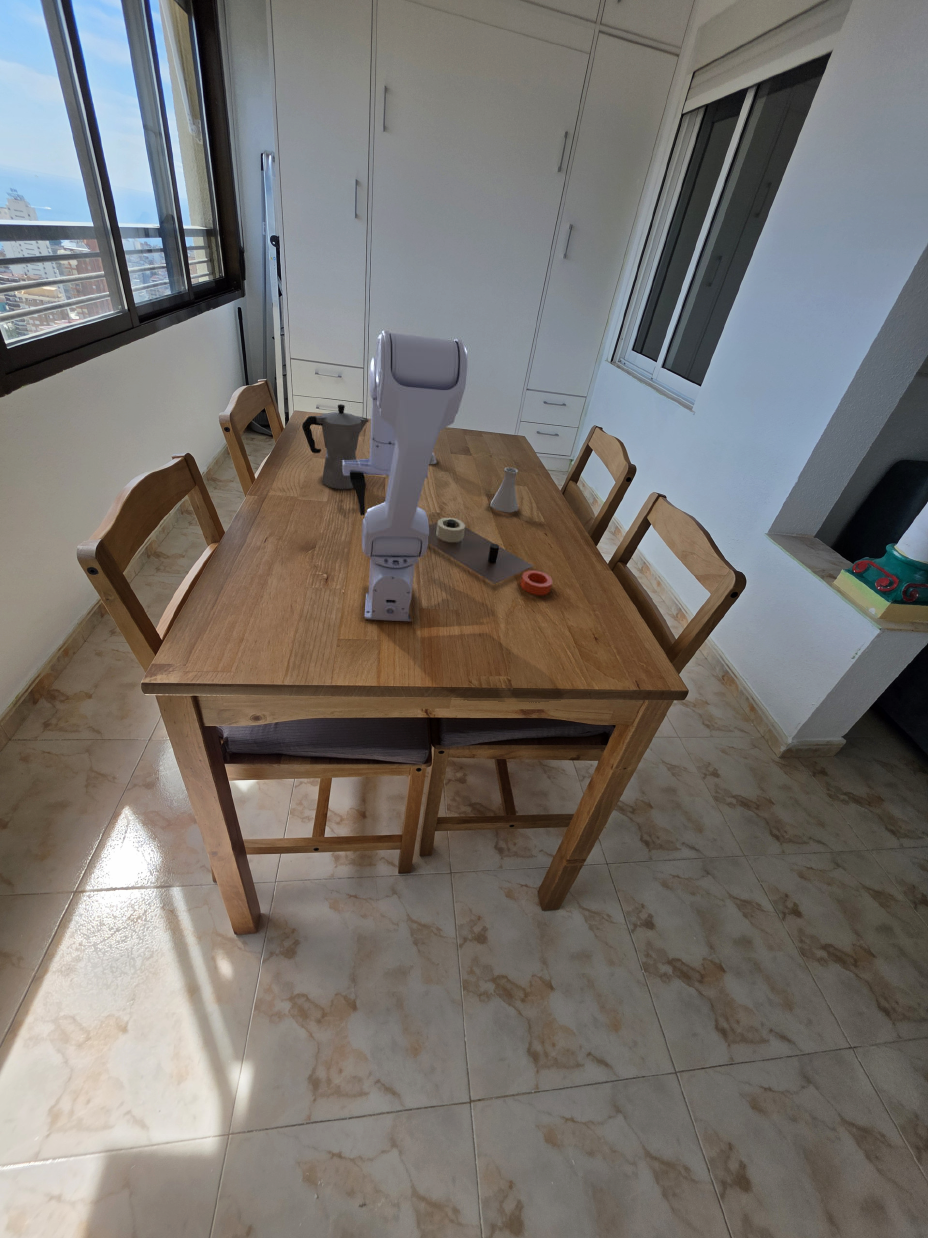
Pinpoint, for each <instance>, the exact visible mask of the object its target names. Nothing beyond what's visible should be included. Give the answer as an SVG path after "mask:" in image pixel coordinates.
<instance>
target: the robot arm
mask: <svg viewBox="0 0 928 1238" xmlns="http://www.w3.org/2000/svg"><path fill="white" fill-rule="evenodd" d="M375 349H376V350H375V357H374V356H373V357H372V358H371V361H370V364H369V372H368V389H369V394H370V395H369V396H370V399H371V411H370V413H371V414H370V435H369V436H370V437H369V438H370V439H369V458H362V459H361V458H360V459H356V460H343V466H342V471H343V475H344V476H349V477H350V480H351V483H352V485H353V488H352V489H353V490H354V492H355V495H356V497H357V502H358V511H359V515H360V516H364V518H363V519H362V523H361V544H362V546H361V547H362V553H363V554H364V555H365V557H368V558H370V559H369V575H368V576H369V579H368V592H366V593H365V603H364V604H365V607H364V619H366V620H374V621H392V622H393V621H394V622H412V619H411V617H410V604H411V602H412V597H413V595H412V594H413V586H414V584H413V583H414V575H415V565H417V564H418V563H419V558H423V557H424V556H425V555H426V554H427V551H428V547H429V543H428V536H429V525H430V524H429V518H428V515H427V512H426V511H425V510H424V509H423V508H421V507H419V504H420V503H419V502H420V499H421V496H422V492H423V488H424V484H425V480H426V479H428V473H429V465H430V464H429V462H430V459H431V455H432V452H433V453H434V449H435V446H436V443H437V440H438V438H439V435H440V432H441V431H442V430H444V429H445V428H447V427H449V426H451V425H453V424H454V423H455V419H456V416H457V414H458V412H459V410H460V407H461V404H462V400H463V397H464V393H465V390H466V385H467V376H468V351H467V348H466V346H465V344H464V342H463V341H462V340H461V339H457V338H456V339H455V338H454V340H453V339H445V338H437V337H429V336H422V335H421V336H420V335H413V334H404V333H396V332H390V331H389V330H384V329H383V330H382V331H381V333H379V334H378V336H377V339H376V348H375ZM369 475H370V476H388V481H387V483H388V484H387V488H386V493H385V499H384V501H383V502H382V503H379V504H376V505H374V506H372V507H369V508H368V509H367V510H366V505H365V504H366V503H365V499H366V487H367V483H366V477H365V476H369Z"/></svg>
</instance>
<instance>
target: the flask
mask: <svg viewBox="0 0 928 1238" xmlns="http://www.w3.org/2000/svg"><path fill="white" fill-rule="evenodd" d="M503 472H504V476H503V478H502V479H503V480H502V481H501V484H500V486H499V488H498V490H497V492H496V493H495V495H494V496H493V498H492V500H491V502H490V505H489V506H490V507H491V508H492V509H494V510H496V511H499V512H504V513H513V512H518V511H519V505H518V501H517V493H516V476H517V474H518V472H519V470H518V469H516V468H514V467H509V466H508V467H504V469H503Z"/></svg>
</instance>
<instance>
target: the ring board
mask: <svg viewBox="0 0 928 1238" xmlns="http://www.w3.org/2000/svg"><path fill="white" fill-rule="evenodd" d="M437 523H438V521H436V522H434V523H431V524H429V536H428V545H431V546H432V547H435V548H436V549H437V550H439V551H441V552H442V553H443V554H445V555H447V556H448V557H450V558H452V559H454V560H455V561H457V562H458V563H460V564H462V565H463V566H465V567H467V568H468V569H469V570H471V571H473V572H475V573H476V574H478V575H479V576H481V577H483V578H484V579H486V580H487V581H489V582H491V583H492V584H494V585H495V584H498V583H500V582H502V581H504V580H506V579H508V578H511V577H513V576H515V575H517V574H519V573H522V572H525V571H527V570H528V569H530V568H532V567H534V565H533V564H531V563H530V562H528V561H526V560H524V559H523V558H520V557H519V556H517V555H515V554H513V553H512V552H510V551H509V550H507V549H505V548H503V547H501V546H500V545H499V544H498V543H494V542H492V541H491V540H489V539H487V538H486V537H484V536H482V535H480V534H478V533H476V532H475V531H474V530H471V529H469V528H467V527H466V526H465V530H464V537H463V539H462V540H461V541H459V542H446V541H443V540H441V539H439V538H438V537H437V535H436V531H437ZM455 526H456V521H455V520H452V519H449V520H448V521H447V527H449V528H455Z"/></svg>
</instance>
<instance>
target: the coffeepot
mask: <svg viewBox="0 0 928 1238" xmlns="http://www.w3.org/2000/svg"><path fill="white" fill-rule="evenodd" d="M345 407H346V405H344V404H337V409H338V411H332V412H325V413H321V415H309V416H307V417H306V418H305V420H304V421H303V422H302V424H301V428H302V432H303V433H304V435H305V436H304V437H305V438H306V441H307V444H308V447H309V450H310V452H311V453H312V454H320V453H321V452H322V449H321V448H317V447H316V442H315V439H314V437H313V431H312V429H311V426H320V427H321V429H322V430H321V431H322V435H323V443H324V448H325V458H324V465H323V472H322V479H321V483H322V484H323V485H324V486H326V487H328V488H331V489H334V490H335V489H336V490H350V489H351V490H352V489H354V488H353V485H352V483H351V480H350V477H349V476H344V475H343V471H342V466H343V460H357V456H356V455H357V454H356V453H357V452H356V451H357V450H358V449H357V448H358V443H359V437H360V434H361V433H362V431H363V429H364V428H365V426H366V424H367V423H369V422H370V420H369V419H368V418H367V417H364V416H359V415H354V414H352V413H350V412H345Z"/></svg>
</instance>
